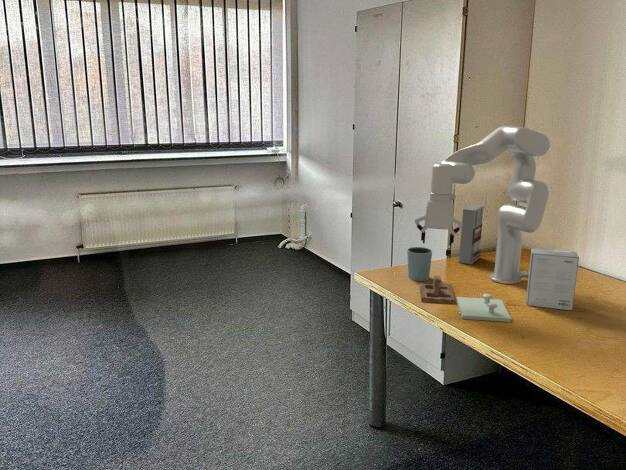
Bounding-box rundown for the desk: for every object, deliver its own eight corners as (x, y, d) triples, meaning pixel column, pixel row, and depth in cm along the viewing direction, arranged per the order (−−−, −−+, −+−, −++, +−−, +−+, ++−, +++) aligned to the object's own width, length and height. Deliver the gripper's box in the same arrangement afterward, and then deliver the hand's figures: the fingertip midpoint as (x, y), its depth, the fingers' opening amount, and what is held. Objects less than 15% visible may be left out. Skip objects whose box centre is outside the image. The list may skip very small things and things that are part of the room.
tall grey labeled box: (471, 265, 248) (476, 210, 242) (458, 262, 251) (462, 209, 245) (480, 258, 259) (485, 205, 253) (468, 255, 262) (472, 204, 256)
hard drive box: (570, 304, 202) (577, 251, 197) (572, 311, 195) (580, 257, 190) (525, 298, 207) (531, 247, 202) (526, 305, 200) (532, 252, 195)
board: (500, 302, 203) (501, 292, 202) (510, 321, 185) (512, 310, 184) (456, 299, 205) (457, 289, 204) (462, 318, 187) (463, 307, 186)
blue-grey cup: (432, 281, 224) (434, 253, 221) (407, 281, 225) (409, 253, 222) (427, 274, 234) (429, 246, 231) (404, 273, 234) (405, 246, 231)
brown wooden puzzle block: (450, 289, 216) (451, 272, 215) (454, 303, 201) (456, 285, 199) (419, 287, 218) (420, 270, 216) (421, 301, 202) (422, 283, 201)
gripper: (465, 197, 201) (460, 243, 205) (417, 194, 205) (413, 239, 209) (465, 201, 194) (461, 248, 198) (416, 197, 197) (412, 244, 201)
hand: (436, 243), depth 203 cm, fingers open, 9 cm apart
